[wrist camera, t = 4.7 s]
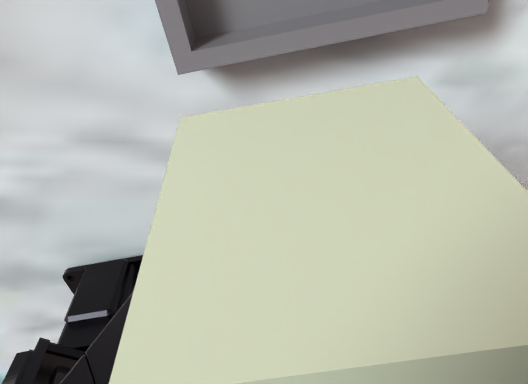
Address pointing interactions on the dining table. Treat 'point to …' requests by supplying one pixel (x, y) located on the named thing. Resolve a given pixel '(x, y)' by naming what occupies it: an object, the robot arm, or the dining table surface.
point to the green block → (332, 249)
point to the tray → (289, 25)
